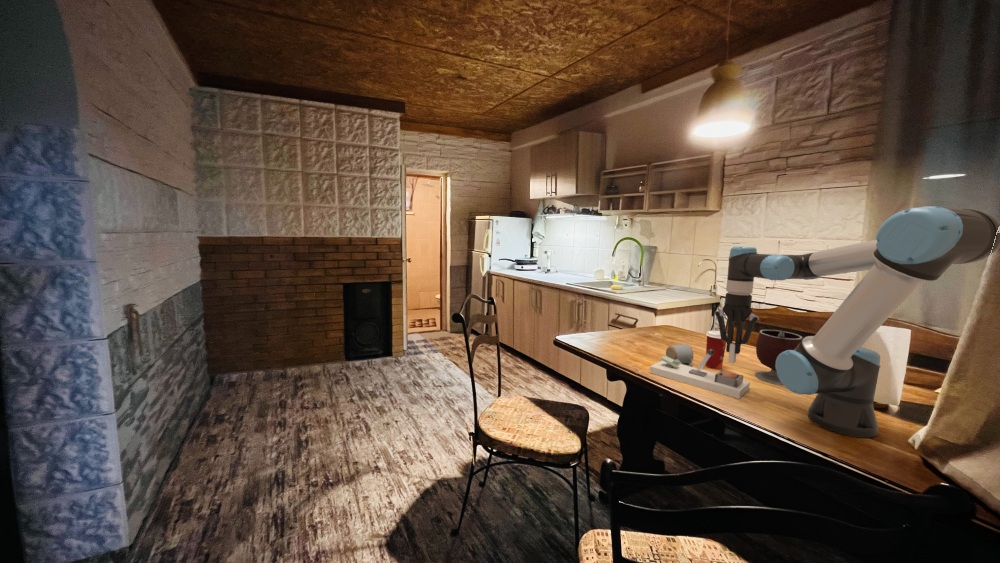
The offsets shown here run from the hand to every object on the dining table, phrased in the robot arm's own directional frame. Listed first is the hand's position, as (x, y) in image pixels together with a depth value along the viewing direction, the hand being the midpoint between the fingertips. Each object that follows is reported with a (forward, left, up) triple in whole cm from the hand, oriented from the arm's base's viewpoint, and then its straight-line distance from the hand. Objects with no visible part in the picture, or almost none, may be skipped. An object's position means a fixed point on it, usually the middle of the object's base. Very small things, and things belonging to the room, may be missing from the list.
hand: (731, 362), depth 135 cm
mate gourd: (-9, -24, -10) cm, 28 cm away
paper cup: (+11, -21, -10) cm, 26 cm away
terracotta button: (0, 0, -7) cm, 7 cm away
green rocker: (+20, 0, -6) cm, 21 cm away
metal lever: (+10, 0, -6) cm, 12 cm away
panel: (+10, 0, -10) cm, 14 cm away
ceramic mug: (+21, -15, -10) cm, 28 cm away
